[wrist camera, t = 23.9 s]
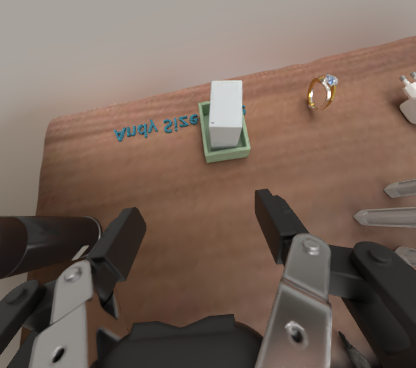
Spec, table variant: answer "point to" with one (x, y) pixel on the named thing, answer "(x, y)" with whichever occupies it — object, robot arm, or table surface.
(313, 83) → the ring
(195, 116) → the nameplate
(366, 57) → the table surface
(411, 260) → the stool
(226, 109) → the cosmetics box
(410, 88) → the power adapter
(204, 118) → the holder
